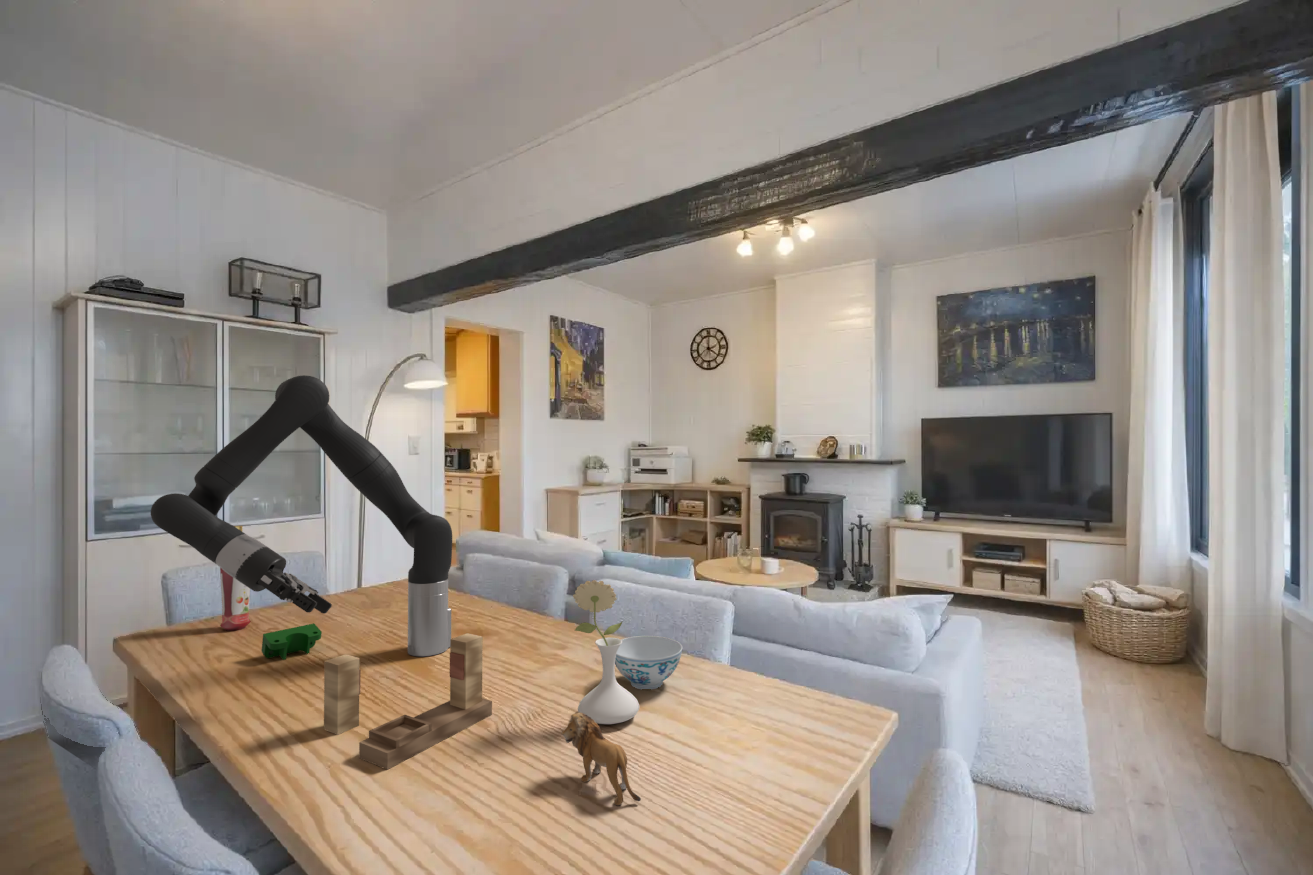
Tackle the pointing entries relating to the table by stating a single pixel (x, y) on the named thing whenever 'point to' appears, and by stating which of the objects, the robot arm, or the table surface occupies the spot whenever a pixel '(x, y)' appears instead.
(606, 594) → the flower in vase
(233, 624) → the liquor
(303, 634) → the clamp
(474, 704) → the wooden block stand
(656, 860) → the table surface
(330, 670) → the tall wooden pillar
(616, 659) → the chinaware
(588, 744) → the lion figurine
